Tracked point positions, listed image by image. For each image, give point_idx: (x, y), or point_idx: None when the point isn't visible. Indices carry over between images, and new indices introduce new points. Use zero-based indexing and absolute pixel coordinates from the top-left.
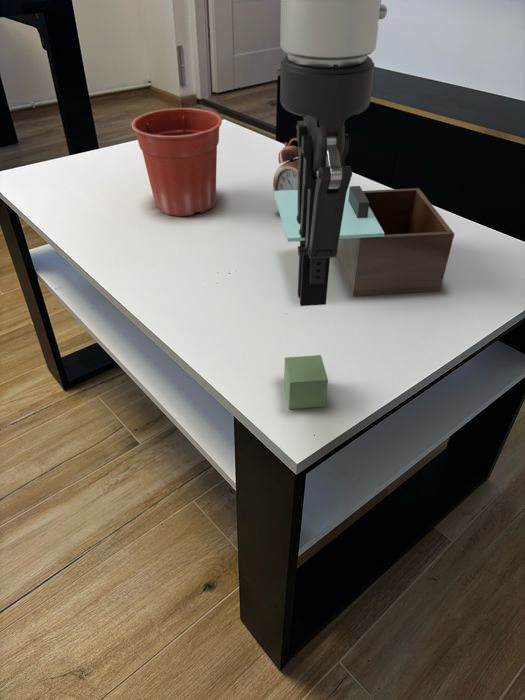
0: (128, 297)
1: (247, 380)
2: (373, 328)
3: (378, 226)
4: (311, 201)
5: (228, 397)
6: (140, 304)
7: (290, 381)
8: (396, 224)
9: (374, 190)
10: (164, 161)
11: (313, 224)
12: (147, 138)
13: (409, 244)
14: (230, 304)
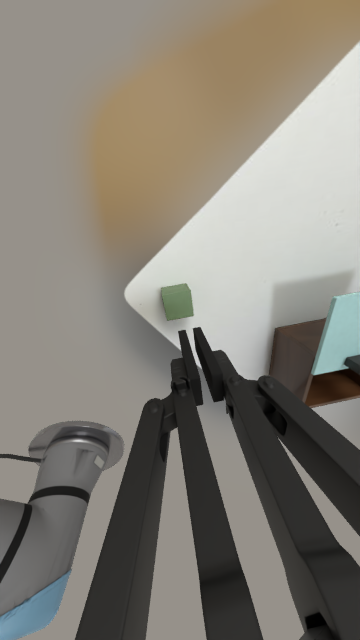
0: (333, 85)
1: (189, 255)
2: (239, 339)
3: (325, 371)
4: (191, 517)
5: (170, 240)
6: (314, 110)
7: (163, 295)
8: None
9: None
10: None
11: (130, 486)
12: None
13: (299, 382)
14: (288, 230)
